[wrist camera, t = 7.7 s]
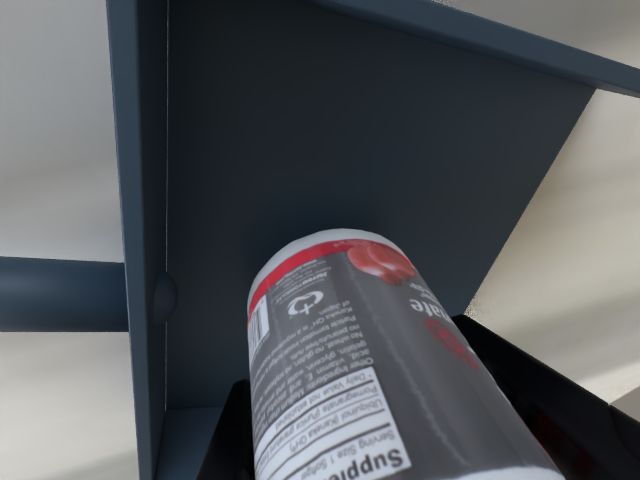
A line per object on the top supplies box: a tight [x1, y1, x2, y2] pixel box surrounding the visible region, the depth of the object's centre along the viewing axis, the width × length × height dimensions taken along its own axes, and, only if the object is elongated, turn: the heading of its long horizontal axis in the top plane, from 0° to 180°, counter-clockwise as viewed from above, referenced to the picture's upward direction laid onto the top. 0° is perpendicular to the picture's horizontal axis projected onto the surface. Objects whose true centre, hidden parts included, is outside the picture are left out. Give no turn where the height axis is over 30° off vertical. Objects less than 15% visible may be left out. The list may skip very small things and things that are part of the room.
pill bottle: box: [247, 228, 565, 480], centre depth 7 cm, size 5×5×10 cm
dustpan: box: [0, 0, 640, 480], centre depth 10 cm, size 19×16×3 cm
